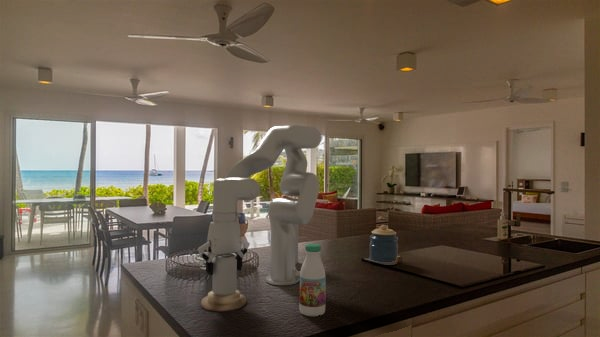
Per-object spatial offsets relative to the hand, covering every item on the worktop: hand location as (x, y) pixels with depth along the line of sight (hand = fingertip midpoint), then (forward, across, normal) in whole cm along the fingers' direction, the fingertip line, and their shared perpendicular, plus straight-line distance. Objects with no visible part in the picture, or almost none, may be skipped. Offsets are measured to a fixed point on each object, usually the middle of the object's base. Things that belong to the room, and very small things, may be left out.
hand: (224, 271), depth 117 cm
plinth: (+10, 0, 0) cm, 10 cm away
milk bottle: (+10, -18, +22) cm, 30 cm away
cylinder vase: (+10, -44, -31) cm, 55 cm away
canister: (+10, -82, -6) cm, 83 cm away
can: (+7, 0, 0) cm, 7 cm away
